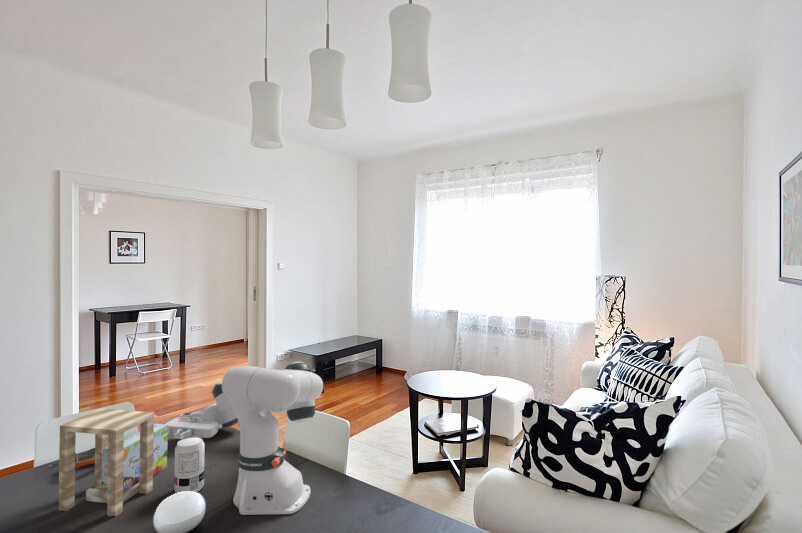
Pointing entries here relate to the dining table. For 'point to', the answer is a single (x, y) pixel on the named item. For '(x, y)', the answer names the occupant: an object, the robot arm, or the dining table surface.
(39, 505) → the dining table surface
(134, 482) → the snack box
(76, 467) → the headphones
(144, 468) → the footstool
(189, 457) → the supplement can
